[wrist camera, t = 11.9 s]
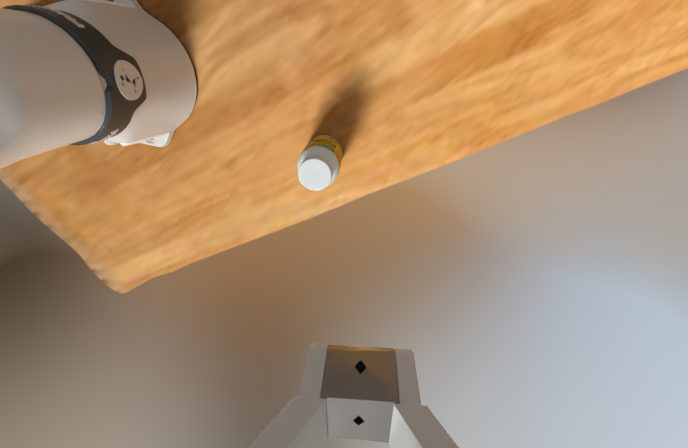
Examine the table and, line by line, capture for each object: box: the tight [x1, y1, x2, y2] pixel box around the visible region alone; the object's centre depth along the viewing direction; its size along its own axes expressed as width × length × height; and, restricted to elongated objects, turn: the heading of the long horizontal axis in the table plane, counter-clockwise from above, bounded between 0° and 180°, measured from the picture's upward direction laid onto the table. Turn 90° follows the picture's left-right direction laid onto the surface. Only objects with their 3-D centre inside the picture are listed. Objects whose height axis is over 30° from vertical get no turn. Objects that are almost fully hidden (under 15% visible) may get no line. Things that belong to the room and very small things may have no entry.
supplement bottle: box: [297, 135, 342, 191], centre depth 40 cm, size 5×5×10 cm
